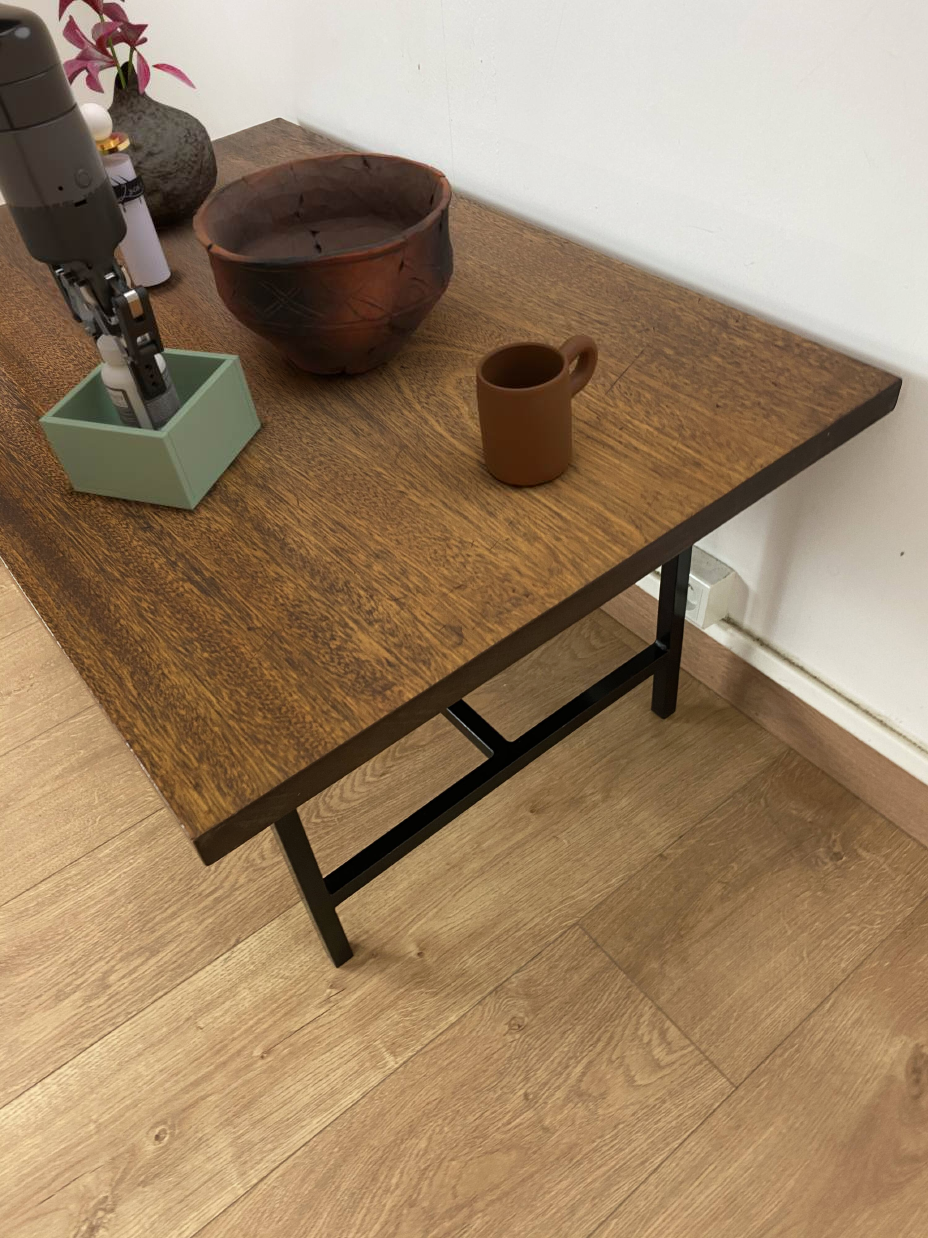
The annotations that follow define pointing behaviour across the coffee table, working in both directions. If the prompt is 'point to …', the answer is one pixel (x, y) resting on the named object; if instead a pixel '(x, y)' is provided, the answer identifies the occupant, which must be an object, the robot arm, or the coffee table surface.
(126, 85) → the vase
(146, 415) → the pill bottle
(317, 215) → the bowl
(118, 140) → the perfume bottle
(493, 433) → the mug
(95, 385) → the bin
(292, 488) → the coffee table surface
